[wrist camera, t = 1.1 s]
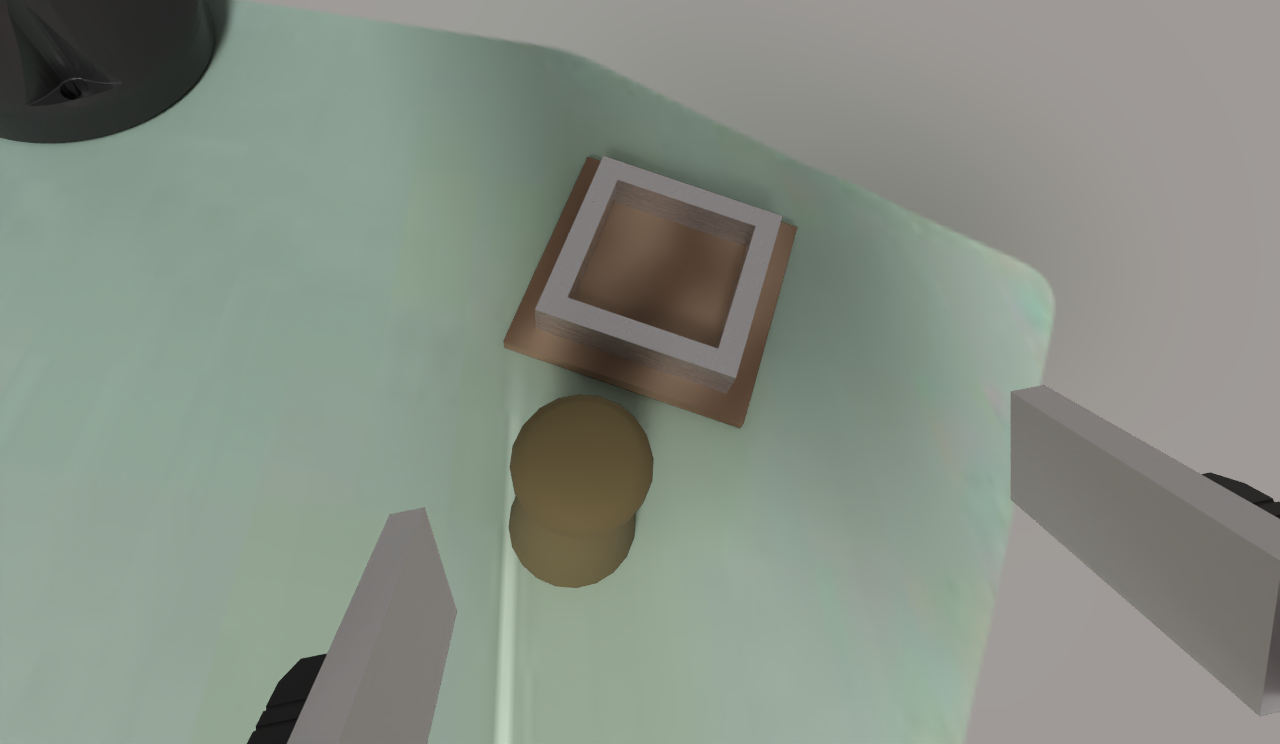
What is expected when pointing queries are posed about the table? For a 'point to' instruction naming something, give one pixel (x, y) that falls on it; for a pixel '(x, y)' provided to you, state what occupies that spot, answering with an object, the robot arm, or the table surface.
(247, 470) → the table surface
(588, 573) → the cork
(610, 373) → the coaster
